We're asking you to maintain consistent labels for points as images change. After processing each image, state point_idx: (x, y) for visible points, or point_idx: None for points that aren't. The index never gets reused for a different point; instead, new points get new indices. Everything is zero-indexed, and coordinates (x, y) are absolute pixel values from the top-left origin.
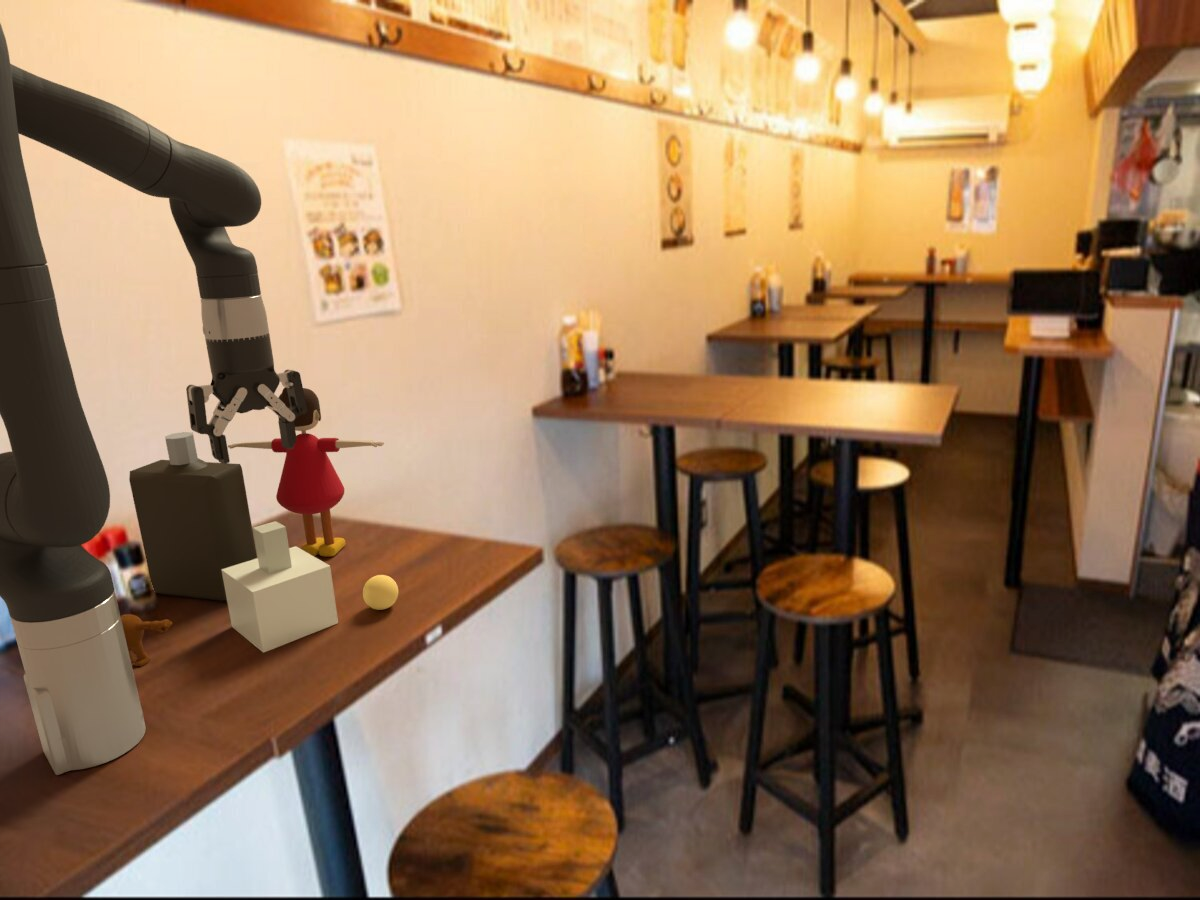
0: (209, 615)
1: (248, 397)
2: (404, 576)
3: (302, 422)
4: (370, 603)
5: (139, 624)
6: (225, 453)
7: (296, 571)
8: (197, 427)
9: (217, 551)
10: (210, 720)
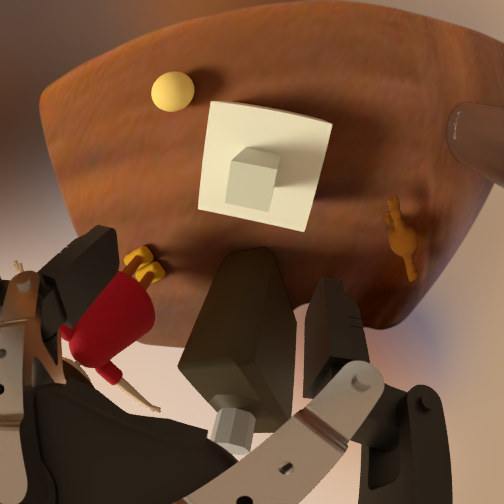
0: (297, 244)
1: (113, 490)
2: (123, 140)
3: (67, 368)
4: (193, 85)
5: (403, 227)
6: (336, 298)
7: (252, 126)
8: (442, 414)
9: (265, 287)
10: (419, 71)
